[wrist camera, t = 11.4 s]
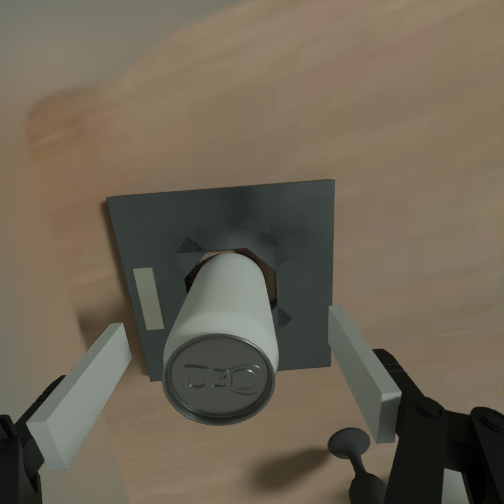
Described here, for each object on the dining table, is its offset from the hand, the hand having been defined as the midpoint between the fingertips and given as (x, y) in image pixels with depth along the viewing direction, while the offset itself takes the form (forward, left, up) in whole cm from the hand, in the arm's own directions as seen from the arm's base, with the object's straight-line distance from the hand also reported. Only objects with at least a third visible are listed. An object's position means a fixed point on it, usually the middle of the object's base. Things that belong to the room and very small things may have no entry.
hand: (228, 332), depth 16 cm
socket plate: (0, 0, -8) cm, 8 cm away
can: (0, 0, -8) cm, 8 cm away
